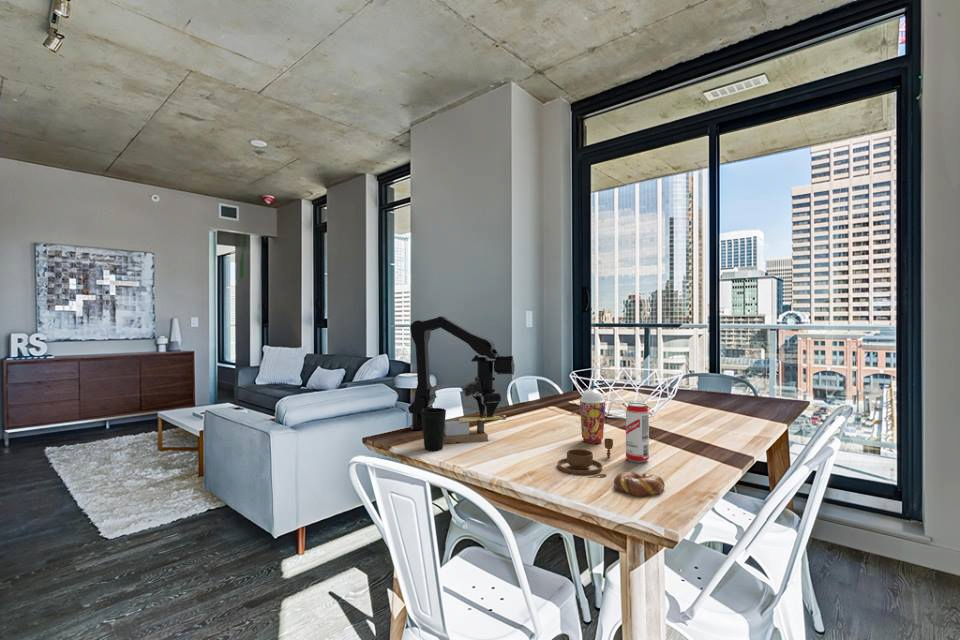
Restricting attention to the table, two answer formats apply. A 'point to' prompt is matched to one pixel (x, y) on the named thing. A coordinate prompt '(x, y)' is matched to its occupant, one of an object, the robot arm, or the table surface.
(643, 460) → the beer can
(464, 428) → the grey block
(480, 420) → the lever
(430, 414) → the cup
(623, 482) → the pretzel
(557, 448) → the table surface
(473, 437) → the plane body
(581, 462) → the place setting
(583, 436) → the smoothie
